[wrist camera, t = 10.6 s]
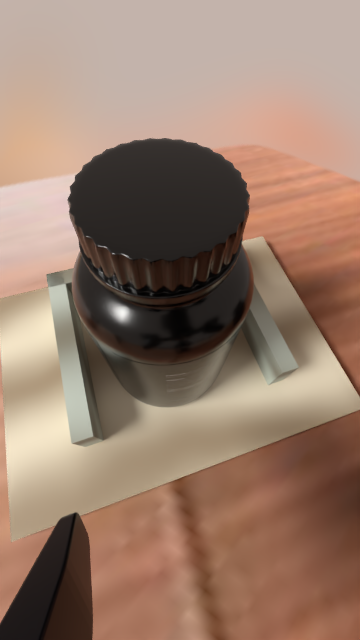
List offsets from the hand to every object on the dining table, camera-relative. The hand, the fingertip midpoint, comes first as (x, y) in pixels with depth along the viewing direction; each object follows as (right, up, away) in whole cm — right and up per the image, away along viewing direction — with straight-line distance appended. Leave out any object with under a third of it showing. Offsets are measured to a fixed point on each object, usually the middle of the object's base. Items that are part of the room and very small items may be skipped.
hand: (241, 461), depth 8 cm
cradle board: (-2, +2, +11) cm, 11 cm away
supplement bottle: (-3, +2, +10) cm, 11 cm away
